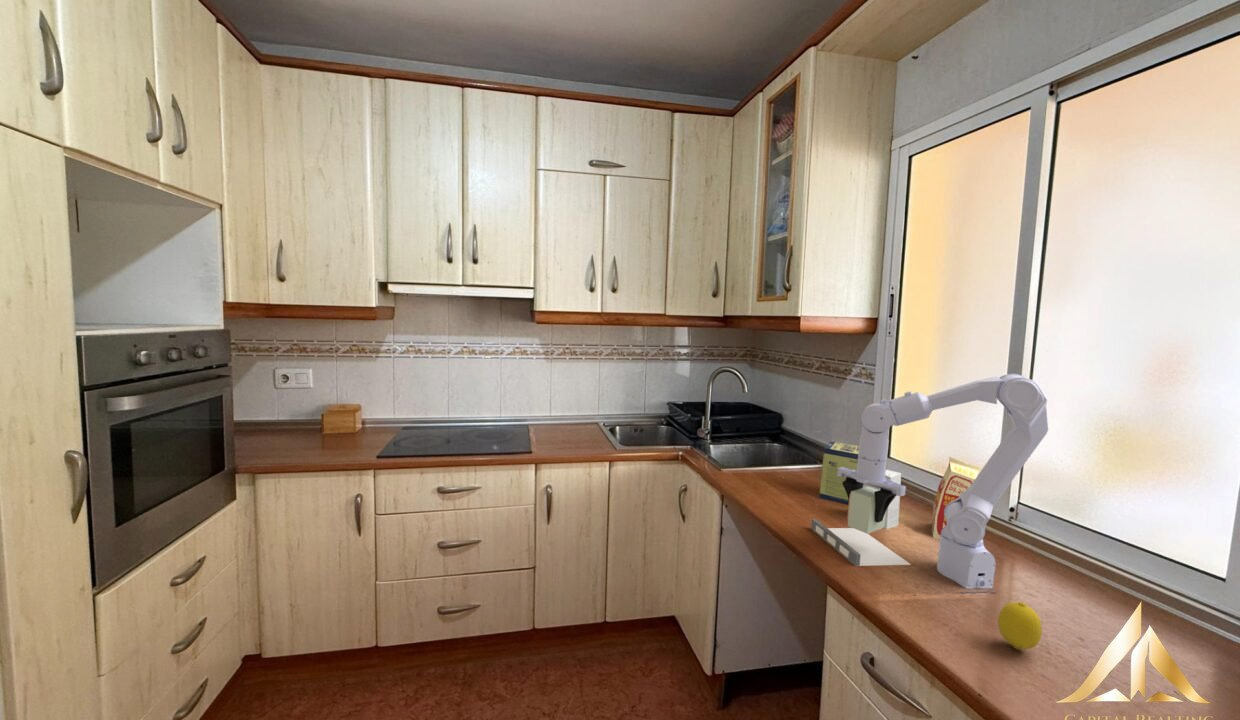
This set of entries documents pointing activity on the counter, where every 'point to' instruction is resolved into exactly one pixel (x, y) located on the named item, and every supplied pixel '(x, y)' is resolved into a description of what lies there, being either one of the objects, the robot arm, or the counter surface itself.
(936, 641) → the counter surface
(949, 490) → the milk carton
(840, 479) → the protein box
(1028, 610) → the lemon
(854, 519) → the box
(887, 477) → the skincare box
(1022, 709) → the counter surface
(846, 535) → the shelf board
